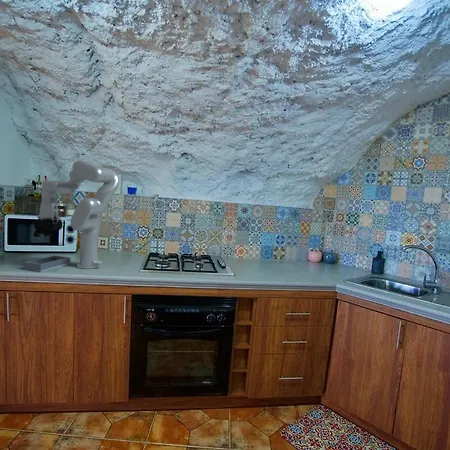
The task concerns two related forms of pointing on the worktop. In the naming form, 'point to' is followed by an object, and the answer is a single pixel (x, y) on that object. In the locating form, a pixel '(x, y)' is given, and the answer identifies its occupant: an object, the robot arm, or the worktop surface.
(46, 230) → the black irregular piece
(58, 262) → the holder tray
